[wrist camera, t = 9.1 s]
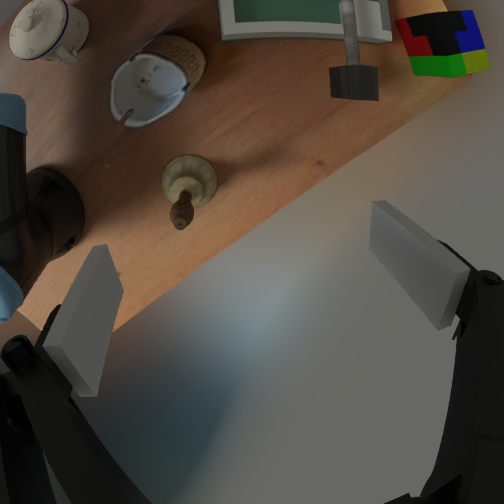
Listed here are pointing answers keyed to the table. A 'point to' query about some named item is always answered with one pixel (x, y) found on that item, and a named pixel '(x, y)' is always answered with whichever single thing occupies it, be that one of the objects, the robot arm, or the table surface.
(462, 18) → the puzzle toy
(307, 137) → the table surface
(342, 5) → the striker
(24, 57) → the teacup with lid
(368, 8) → the pitch
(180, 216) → the hand bell
